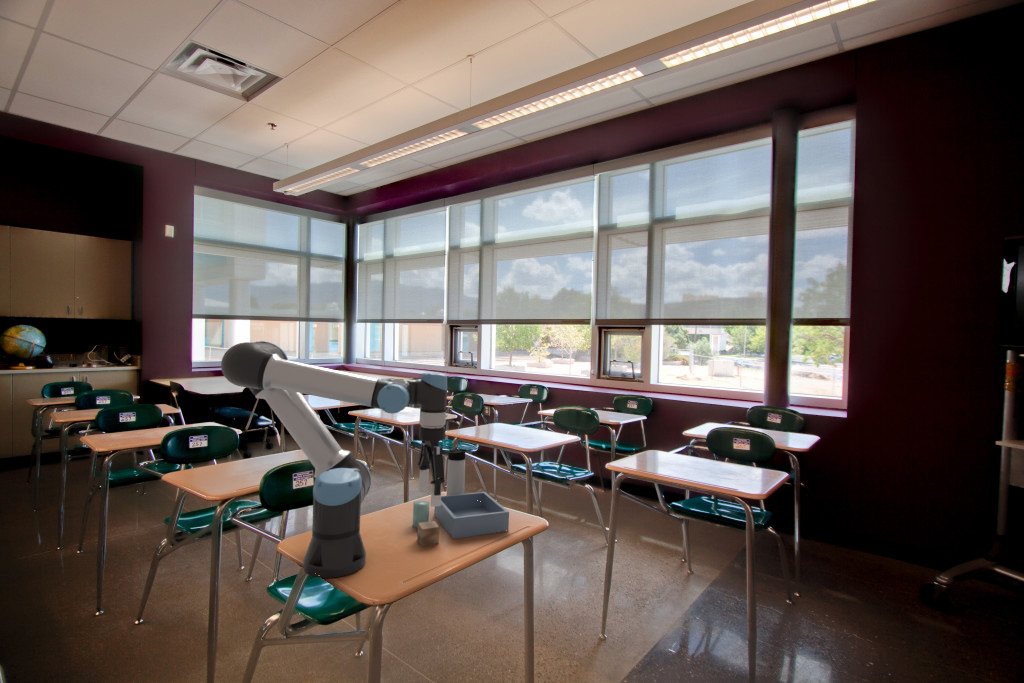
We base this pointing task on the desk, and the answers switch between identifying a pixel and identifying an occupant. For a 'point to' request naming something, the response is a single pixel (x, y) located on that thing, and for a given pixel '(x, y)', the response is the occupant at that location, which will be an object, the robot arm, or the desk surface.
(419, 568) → the desk surface
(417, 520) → the teal cylinder
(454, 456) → the travel mug
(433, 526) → the walnut cube
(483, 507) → the tote
